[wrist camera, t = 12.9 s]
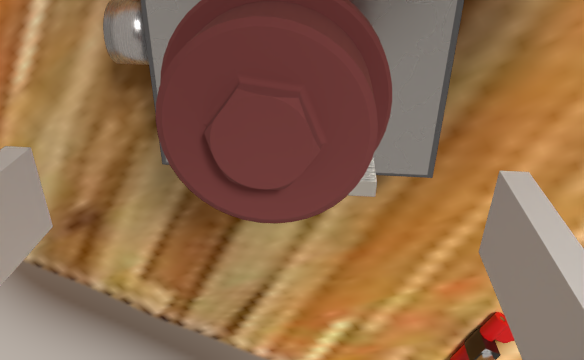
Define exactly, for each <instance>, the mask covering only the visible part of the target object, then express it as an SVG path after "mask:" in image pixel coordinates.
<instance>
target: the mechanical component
mask: <svg viewBox="0 0 584 360" xmlns="http://www.w3.org/2000/svg"><path fill="white" fill-rule="evenodd" d="M391 106H392V80H391V74H390V68H389V65H388V61H387V58H386V55H385V52H384V49H383V47H382V44H381V42H380V39H379V37H378V35H377V34H376V32H375V30H374V29H373V27H372V25H371V24H370V22H369V21H368V20H367V18H366V17H365V16H364V15H363V14H362V12H361V11H360V10H359V9H358V8H357V7H356V6H355V5H354V4H353V3H351V2H350V1H349V0H201V1H199V2H198V3H197V4H196V5H195V6H194V7H193V8H192V9H191V10H190V11H189V12H188V13H187V14H186V15H185V16H184V18H183V19H182V20H181V22H180V23H179V24H178V26H177V27H176V29H175V31H174V33H173V34H172V36H171V38H170V40H169V42H168V45H167V48H166V51H165V54H164V57H163V62H162V68H161V78H160V86H159V91H158V96H157V101H156V125H157V132H158V137H159V140H160V143H161V147H162V150H163V152H164V154H165V156H166V158H167V160H168V162H169V164H170V166H171V168H172V169H173V170H174V172H175V173H176V175H177V176H178V178H179V179H180V180H181V181H182V182H183V183H184V184H185V185H186V187H187V188H188V189H189V190H190V191H191V192H193V193H194V194H195V195H196V196H198V197H199V198H200V199H201V200H202V201H204V202H206V203H207V204H209V205H210V206H212V207H214V208H215V209H217V210H220V211H222V212H224V213H226V214H228V215H231V216H234V217H237V218H240V219H243V220H248V221H254V222H259V223H286V222H293V221H298V220H302V219H307V218H309V217H312V216H315V215H317V214H320V213H322V212H324V211H326V210H327V209H329V208H331V207H333V206H335V205H336V204H337V203H338V202H340V201H341V200H342V199H344V198H345V197H346V196H347V195H348V194H349V193H350V192H351V191H352V190H353V189H354V188H355V187H356V186H357V184H358V183H359V182H360V180H361V179H362V177H363V176H364V174H365V173H366V171H367V169H368V166H369V164H370V162H371V160H372V157H373V154H374V152H375V150H376V149H377V147H378V146H379V144H380V142H381V140H382V138H383V136H384V133H385V131H386V128H387V125H388V121H389V118H390V113H391Z"/></svg>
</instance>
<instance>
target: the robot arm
mask: <svg viewBox="0 0 584 360" xmlns="http://www.w3.org/2000/svg"><path fill="white" fill-rule="evenodd" d="M52 227H53V225H52V221H51V218H50V214H49V211H48V207H47V204H46V200H45V196H44V193H43V189H42V186H41V182H40V179H39V175H38V171H37V168H36V164H35V161H34V157H33V153H32V150H31V148H30V147H10V146H5V147H4V148H2V149H1V150H0V286H1V285H2V284H3V283H4V281H6V279H7V278H8V277H9V276H10V275H11V274H12V273H13V271H14V270H15V269H16V268H17V267H18V266H19V265H20V263H21V262H22V261H23V260H24V259H25V258H26V257H27V256H28V254H29V253H30V252H31V251H32V250H33V249H34V248H35V246H36V245H37V244H38V243H39V242H40V241H41V240H42V238H43V237H44V236H45V235H46V234H47V233H48V232H49V230H50V229H51V228H52ZM479 254H480V256H481V259H482V261H483V264H484V266H485V268H486V271H487V273H488V276H489V278H490V281H491V283H492V286H493V288H494V291H495V293H496V296H497V298H498V300H499V303H500V305H501V308H502V310H503V313H504V315H505V318H506V320H507V323H508V325H509V328H510V330H511V332H512V335H513V337H514V340H515V342H516V345H517V347H518V350H519V352H520V355H521V357H522V360H584V249H583V247H582V246H581V245H580V243H579V242H578V240H577V239H576V238H575V236H574V235H573V233H572V232H571V231H570V229H569V228H568V226H567V225H566V224H565V222H564V221H563V219H562V218H561V217H560V215H559V214H558V212H557V211H556V210H555V208H554V207H553V205H552V204H551V203H550V201H549V200H548V198H547V197H546V196H545V194H544V193H543V191H542V190H541V188H540V187H539V186H538V184H537V183H536V181H535V180H534V179H533V177H532V176H531V174H530V173H529V172H516V171H499V175H498V179H497V183H496V187H495V191H494V195H493V199H492V203H491V206H490V210H489V214H488V218H487V222H486V226H485V230H484V234H483V238H482V242H481V245H480V249H479Z"/></svg>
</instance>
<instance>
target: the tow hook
mask: <svg viewBox="0 0 584 360" xmlns="http://www.w3.org/2000/svg"><path fill="white" fill-rule="evenodd" d="M494 339H495V340H497V341H500V342H502V343H508V342H510V341H515V340H514V337H513V335H512V332H511V330H510V328H509V325H508V323H507V320H506V318H505V315H503V314H502V313H500V312H496V313H495V314H494V315H493V316H492V317H491V318H490V319H489V320H488V321H487V322H486V323H485V324H484V325H483V326H482V327H481V328H478V329H477V330H476V331H475V332H474V333H473V334H472V335H471V336H470V337H469V338H468V339H467V340H466V341H465V343H464V345H463V346H462V347H461V348H460V349H459V350H458V351H457V352H456V353H455V354H454V355H453V356H452V357H451V358H450V360H496V359H497V358H498V357H499V356H500V353H499V350H498V348H497V345H496V343H495V340H494Z"/></svg>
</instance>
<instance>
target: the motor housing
mask: <svg viewBox="0 0 584 360" xmlns="http://www.w3.org/2000/svg"><path fill="white" fill-rule="evenodd" d="M199 1H201V0H111V1H110V2H109V3H108V5H107V7H106V10H105V14H104V22H103V30H104V39H105V44H106V48H107V51H108V53H109V55H110V57H111V59H112V60H113V61H114V62H115V63H117V64H139V65H149V67H150V74H151V82H152V89H153V97H154V104H155V112H156V101H157V96H158V91H159V86H160V78H161V68H162V62H163V57H164V54H165V51H166V48H167V45H168V42H169V40H170V38H171V36H172V34H173V33H174V31H175V29H176V27H177V26H178V24H179V23H180V22H181V20H182V19H183V18H184V16H185V15H186V14H187V13H188V12H189V11H190V10H191V9H192V8H193V7H194V6H195V5H196V4H197V3H198V2H199ZM349 1H350V2H351V3H353V4H354V5H355V6H356V7H357V8H358V9H359V10H360V11H361V12H362V14H363V15H364V16H365V17H366V18H367V20H368V21H369V22H370V24H371V25H372V27H373V29H374V30H375V32H376V34H377V35H378V37H379V39H380V42H381V44H382V47H383V49H384V52H385V55H386V58H387V61H388V65H389V68H390V74H391V80H392V106H391V113H390V118H389V121H388V125H387V128H386V131H385V133H384V136H383V138H382V140H381V142H380V144H379V146H378V147H377V149H376V150H375V152H374V154H373V157H372V160H371V162H370V164H369V166H368V169H367V171H366V173H365V174H364V176H363V177H362V179H361V180H360V182H359V183H358V184H357V186H356V187H355V188H354V189H353V190H352V191H351V192H350V193H349V194H348V195H352V196H371V197H375V195H376V186H377V179H376V175H387V176H407V177H427V178H432V177H433V171H434V166H435V160H436V155H437V149H438V144H439V138H440V132H441V127H442V121H443V116H444V110H445V104H446V99H447V93H448V88H449V82H450V77H451V71H452V65H453V60H454V54H455V49H456V43H457V37H458V32H459V26H460V21H461V15H462V9H463V4H464V0H349ZM159 142H160V140H159ZM160 149H161V157H162V164H166V165H170V164H169V162H168V160H167V158H166V156H165V154H164V152H163V150H162V147H161V143H160Z"/></svg>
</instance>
